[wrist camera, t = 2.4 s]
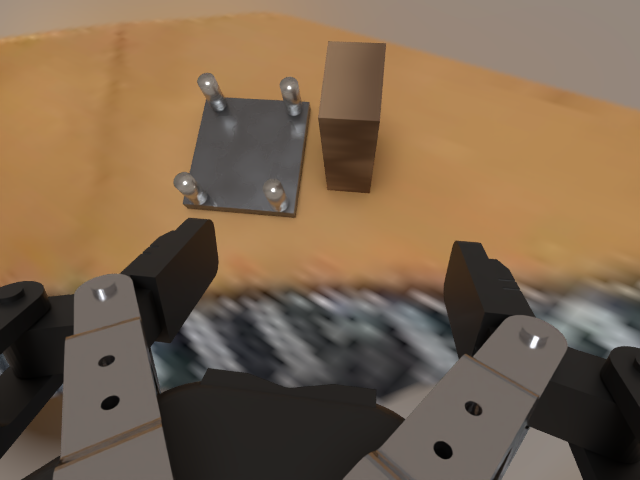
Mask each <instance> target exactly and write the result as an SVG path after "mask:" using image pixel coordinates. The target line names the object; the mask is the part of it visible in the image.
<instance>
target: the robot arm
mask: <svg viewBox="0 0 640 480" xmlns="http://www.w3.org/2000/svg"><path fill="white" fill-rule="evenodd" d="M217 270H218V252H217V244H216V237H215V229H214V224H213V222H212V220H209V219H197V218H188V219H186V220H185V221H184V222H183V223H182V224H181V225H180V226H179V227H178V228H177V229H176V230H175V231H173V230H172V231H170V232H168V233H166V234H164V235H162V236H160V237H159V238H158V239H156V240H155V241H154V242H153V243H152V244H151V245H150V247H148V248H147V249H146V250H145V251H144V252H143V254H140V255H139V256H138V257H137V258H136V259H135V260H134V261H133V262H132V263H131V264H130V265H129V266H127V267H126V268H125V269H124V270H123V271H122V272H121V273H120V274H107V275H102V276H99V277H96V278H93V279H91V280H89V281H87V282H85V283H84V284H82V285H81V286H80V287H79V288H78V289H77V290H76V292H75V294H72V295H62V296H52V297H48V296H47V294H46V292H45V289H44V287H43V285H42V284H41V283H38V282H34V281H23V282H16V283H12V284H9V285H5V286H3V287H0V354H2V353H3V354H4V356H5V358H6V360H7V362H8V364H9V366H10V367H9V368H8V369H6V370H5V371H4V372H3V373H2V374H1V375H0V459H1V458H2V456H3V455H4V454H5V453H6V452H7V450H8V449H9V448H10V447H11V446H12V444H13V443H14V442H15V441H16V439H17V438H18V437H19V436H20V435H21V433H22V432H23V431H24V430H25V429H26V427H27V426H28V425H29V424H30V422H31V421H32V420H33V419H34V417H35V416H36V415H37V414H38V413H39V412H40V410H41V409H42V408H43V407H44V405H45V404H46V403H47V402H48V401H49V399H50V398H51V397H52V396H53V395H54V393H55V392H56V391H57V390H58V388H59V387H60V386H61V385H62V384H63V410H62V438H61V455H60V456H59V457H57V458H55V459H54V460H52V461H50V462H49V463H47V464H46V465H44V466H42V467H41V468H40V469H38V470H36V471H34V472H33V473H31V474H30V475H28V476H26V477H25V478H23V479H22V480H502V478H503V476H504V474H505V472H506V470H507V469H508V467H509V465H510V463H511V461H512V459H513V458H514V456H515V454H516V452H517V450H518V448H519V447H520V445H521V443H522V441H523V439H524V438H525V436H526V434H527V432H528V430H529V429H530V427H533V428H535V429H537V430H540V431H542V432H545V433H547V434H550V435H552V436H555V437H557V438H560V439H562V440H565V441H567V442H568V443H569V446H570V448H571V451H572V453H573V456H574V458H575V461H576V463H577V466H578V468H579V470H580V473H581V476H582V478H583V480H640V348H636V347H629V346H621V347H617V348H614V349H613V350H612V351H611V353H610V354H609V356H608V358H607V359H604V358H601V357H598V356H594V355H591V354H588V353H585V352H581V351H578V350H576V349H573V348H570V347H568V344H567V341H566V339H565V337H564V336H563V334H562V333H561V332H560V331H559V330H558V329H556V328H555V327H554V326H552V325H550V324H549V323H547V322H545V321H543V320H540V319H538V318H536V317H535V315H534V314H533V312H532V310H531V308H530V306H529V305H528V303H527V301H526V299H525V297H524V296H523V294H522V292H521V291H520V288H519V287H518V285H517V283H516V282H515V279H514V278H513V276H512V274H511V272H510V270H509V269H508V268H507V267H505V266H504V265H503V264H502V263H501V262H499V261H498V260H497V259H489V258H488V256H487V254H486V252H485V250H484V248H483V246H482V244H481V243H478V242H466V241H455V242H454V244H453V247H452V251H451V255H450V260H449V264H448V269H447V273H446V278H445V282H444V301H445V305H446V309H447V313H448V317H449V321H450V325H451V329H452V334H453V338H454V342H455V346H456V350H457V354H458V358H459V360H458V361H457V362H456V364H455V365H454V366H453V367H452V368H451V369H450V370H449V371H448V373H447V374H446V375H445V376H444V377H443V378H442V379H441V380H440V381H439V383H438V384H437V385H436V386H435V387H434V388H433V389H432V390H431V392H430V393H429V394H428V395H427V396H426V397H425V398H424V400H423V401H422V402H421V403H420V404H419V405H418V406H417V407H416V408H415V410H414V411H413V412H412V413H411V414H410V415H409V416H408V417H407V419H406V420H405V419H404V418H403V417H401V416H400V415H398V414H397V413H395V412H394V411H391V410H389V409H388V408H386V407H383V406H381V405H378V404H376V390H375V389H367V388H359V387H352V386H344V385H336V384H330V385H318V386H307V387H296V388H287V387H283V386H280V385H278V384H275V383H272V382H270V381H267V380H264V379H262V378H259V377H257V376H254V375H251V374H249V373H242V372H234V371H226V370H218V369H211V368H208V369H207V371H206V373H205V375H204V377H203V379H202V381H200V382H194V383H188V384H184V385H181V386H178V387H175V388H172V389H170V390H167V391H165V392H163V393H161V391H160V386H159V382H158V377H157V373H156V369H155V364H154V360H153V356H152V352H151V348H150V347H151V345H152V344H153V343H154V341H157V342H165V343H171V342H172V340H173V339H174V337H175V336H176V334H177V333H178V331H179V330H180V328H181V327H182V325H183V324H184V322H185V321H186V319H187V318H188V316H189V315H190V313H191V312H192V310H193V309H194V307H195V306H196V304H197V303H198V301H199V300H200V298H201V297H202V295H203V294H204V292H205V291H206V289H207V288H208V286H209V285H210V283H211V282H212V280H213V279H214V277H215V276H216V273H217ZM63 382H64V383H63Z"/></svg>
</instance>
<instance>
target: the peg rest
mask: <svg viewBox="0 0 640 480" xmlns="http://www.w3.org/2000/svg"><path fill="white" fill-rule="evenodd" d="M197 83H198V85H199V87H200V89H201V90H202V92H203V94H204V96H205V98H206V103H205V107H204V112H203V116H202V121H201V125H200V129H199V134H198V138H197V143H196V147H195V152H194V156H193V160H192V165H191V169H190V174H189V173H187V172H182V173H179V174H178V175H177V176H176V177H175V178H174V186H175V187H176V188H177V189H178V190H179V191H180V192H181V193H182V194H183V195H184V200H183V205H185V206H186V207H187V208H190V209H202V210H214V211H225V212H237V213H249V214H261V215H272V216H284V217H296V210H297V202H298V195H299V188H300V181H301V174H302V166H303V159H304V152H305V145H306V137H307V130H308V123H309V116H310V104H309V102H301V97H300V92H299V86H298V82H297V80H296V79H295V78H293V77H286V78H284V79H283V80H282V81H281V82H280V89H281V93H282V96H283V100H284V101H279V100H261V99H242V98H224V96H223V94H222V91H221V89H220V87H219V85H218V83H217V81H216V79H215V77H214V76H213V75H212V74H210V73H204V74H202V75H200V76H199V78H198V80H197Z"/></svg>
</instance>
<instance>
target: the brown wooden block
mask: <svg viewBox="0 0 640 480" xmlns="http://www.w3.org/2000/svg"><path fill="white" fill-rule="evenodd" d="M385 50H386V43H359V42H332V41H328V47H327V55H326V62H325V70H324V78H323V85H322V93H321V101H320V108H319V116H318V120H319V127H320V135H321V143H322V151H323V159H324V167H325V174H326V182H327V190H335V191H348V192H361V193H370V186H371V179H372V172H373V165H374V158H375V151H376V144H377V137H378V130H379V123H380V112H381V99H382V87H383V75H384V62H385Z"/></svg>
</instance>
